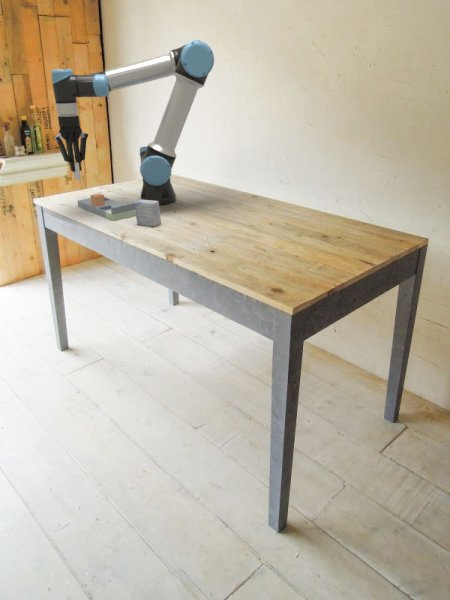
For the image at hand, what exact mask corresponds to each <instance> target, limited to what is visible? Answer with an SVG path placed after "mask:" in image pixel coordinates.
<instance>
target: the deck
mask: <svg viewBox="0 0 450 600" xmlns="http://www.w3.org/2000/svg"><path fill="white" fill-rule="evenodd" d="M104 199H105V205H102V206H97V207H96V206H93V205H92V204H91V197H89V198H84V199H80V200H79V199H78V200H77V204H78V205H77V206H78V207H79V208H81V209H83V210H86V211H89V212H91V213H94V214H95V215H98V216H101V217H102V218H105V219H107V220H110V221H113V222H116V221H120V220H124V219H129V218H131V217H136V209H135V202H136V201H135V202H134V201H133V202H130V203H126V204H125V203H123V202H120V201H116V200H114V199H111V198H108V197H106V196H104Z"/></svg>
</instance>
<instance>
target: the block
mask: <svg viewBox="0 0 450 600" xmlns="http://www.w3.org/2000/svg"><path fill="white" fill-rule="evenodd" d="M104 197H105V195H104V194H102V193H100V192H99V193H94V194H90V197H89V198H91V204H92V205H93V206H96V207H97V206H102V205H105V199H104Z"/></svg>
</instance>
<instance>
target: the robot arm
mask: <svg viewBox="0 0 450 600" xmlns="http://www.w3.org/2000/svg"><path fill="white" fill-rule="evenodd" d="M214 64H215V55H214V52H213V50H212V48H211V46H210V45H209V44H207V43H206V42H205V41H202V40H197V39H195V40H191V41H189V42H187V43H185V45H182V46H181V47H178V48H175V49H171V50H169V53H166V54H163V55H160V56H155V57H151V58H148V59H144V60H141V61H136V62H133V63H128V64H126V65H122V66H117V67H113V68H110V69H106V70H102V71H99V72H93V73H90V74H74V71H73V69H71V68H65V69H63V68H61V69H58V68H57V69H53V70H52V71H51V82H52V83H51V85H52V88H53V89H52V90H53V95H54V101H55V107H56V114H57V115H58V117H57V121H58V127H59V131H58V134H57V135H55V136H54V137H53V140H55V142H56V143H57V146H58V148H59V150H60V153H61V156H62V158H63V160H64V162H67V163H69V167H70V171H71V172H72V173H73V177H74V178H73V179H74V180H76V181H81V180H82V177H81V176H82V175H81V171H82V161H85V160H86V150H87V140H88V137H89V134H88V133H86V132H84V131H83V130H82V127H81V123H80V116H79V115H78V114H79V108H78V100H77V98H103V97H108V96H109V95H110V92H113V91H117V90H121V89H125V88H129V87H132V86H137V85H140V84H144V83H145V84H146V83H149V82H153V81H157V80H159V79H163V78H167V77H171V76H172V77H173V76H174V77H175V81H174V85H173V87H172V90H171V93H170V95H169V98H168V101H167V104H166V106H165V109H164V112H163V115H162V117H161V121H160V124H159V126H158V129H157V132H156V134H155V137H154V138H153V139H154V140H153V141H152V142H150V143H147V146H141V147H139V157H140V166H139V172H140V176H141V177H142V188H141V192H140V197H139V198H140V199H139V200H153V201H159V206H161V205H169V204H172V203H174V202H176V201H177V196H176V192H175V190H174V188H173V185H172V182H171V176H172V172H173V171H172V170H173V166H174V164H175V161H176V158H177V154H176V152H175V150H176V148H177V145H178V142H179V139H180V137H181V134H182V132H183V130H184V127H185V124H186V121H187V119H188V116H189V114H190V111H191V109H192V106H193V104H194V100H195V99H196V98H195V97H196V95H197V94H198V90H200V89H201V88H204V86H205V84H206V81H207V79H208V77H209V74H210V72H211V71H212V69H213V68H214ZM79 139H80V142H79ZM63 140H64V142H65V143H64V142H63ZM65 144H66V147H65Z"/></svg>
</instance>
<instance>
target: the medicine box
mask: <svg viewBox="0 0 450 600" xmlns="http://www.w3.org/2000/svg"><path fill="white" fill-rule="evenodd" d="M135 209H136V216H135V217H136V223H137V226H145V227H157V226H159V225H160V224H162V221H161V220H162V219H161V211H160V205H159V201H153V200H141V199H139V200H137V201H135Z"/></svg>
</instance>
